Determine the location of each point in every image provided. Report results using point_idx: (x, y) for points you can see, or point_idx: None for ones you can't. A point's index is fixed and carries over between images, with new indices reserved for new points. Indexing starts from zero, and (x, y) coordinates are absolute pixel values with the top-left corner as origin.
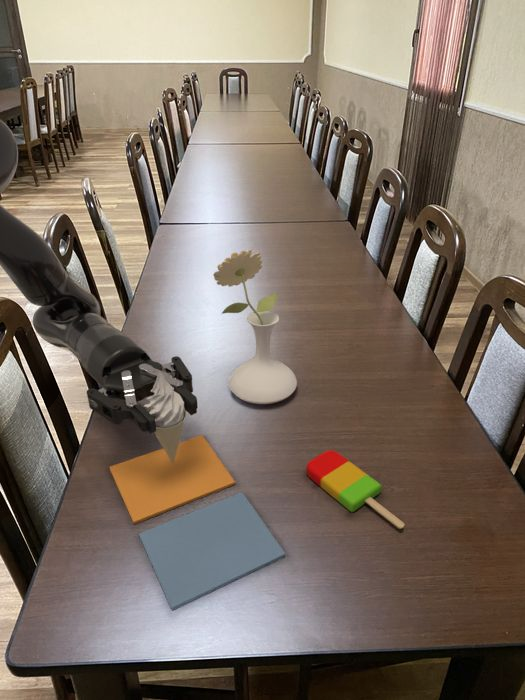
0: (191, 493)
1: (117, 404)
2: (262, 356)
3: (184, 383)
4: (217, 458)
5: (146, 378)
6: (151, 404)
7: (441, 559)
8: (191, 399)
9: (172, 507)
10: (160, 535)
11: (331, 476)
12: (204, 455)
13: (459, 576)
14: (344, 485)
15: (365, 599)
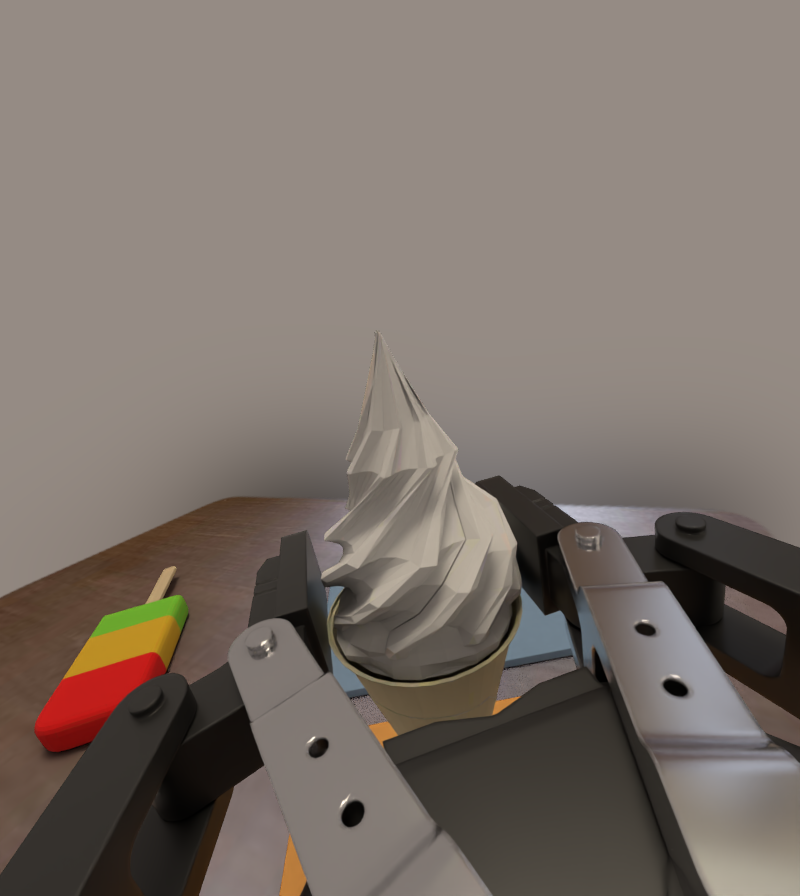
0: None
1: (680, 532)
2: None
3: (216, 684)
4: (285, 886)
5: (471, 809)
6: (472, 483)
7: (185, 546)
8: (293, 536)
9: (496, 702)
10: (531, 630)
11: (137, 650)
12: None
13: (195, 532)
14: (147, 625)
15: (295, 525)
